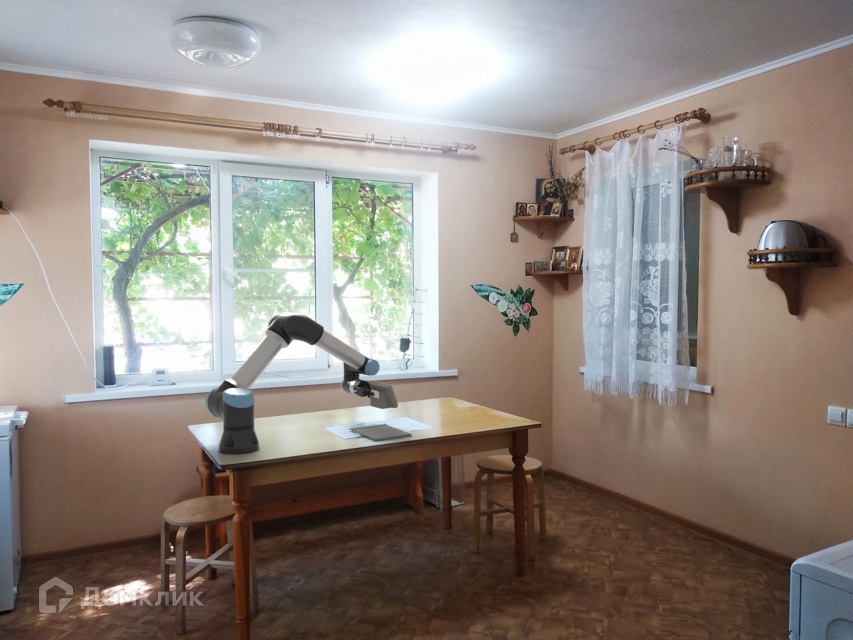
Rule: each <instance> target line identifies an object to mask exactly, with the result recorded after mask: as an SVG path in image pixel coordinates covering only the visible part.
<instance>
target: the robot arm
mask: <svg viewBox="0 0 853 640" xmlns="http://www.w3.org/2000/svg"><path fill="white" fill-rule="evenodd" d="M267 326H268V327H267V328H266V329H265V337H264V338H263V339H261V342H260V343H259V344H258V345H256V348H254V350H253V351H252V353H250V355H249V356H248V357H247V358H246V360H245V361H244V362H243V363H242V364H241V365H240V367H239V368H238V369H237V370H236V371H235V373H234V374H233V375H232V376H231V378H229V379H224V380H223V382H221V384H220V385H219V386H218V387H215V388H213V389H211V390H210V391H209V392H208V393H207V395H206V398H205V408H206V409H207V411H208V412H209V413H210V414H211V415H212V416H213V417H216V418H220V419H222V420H223V421H222V423H223V424H222V425H223V429H222V430H223V431H222V434H221V437H220V440H219V444H218V451H221V452H224V453H223V454H226V453H230V454H229V455H236V454H237V455H238V454H239V453H241V454H246V453H252V452H255V451H257V450H259V449H260V441H259V438H258V435H257V432H256V430H255V402H256V401H255V395H254V392H253V391H252V390H250V389H251V387H252V386H253V385H254V384H255V383H256V381H257V380H258V378H260V376H261V375H262V373H263V372H265V370H266V368H267V367H268V366H269V365H270V364H271V362H272V361H273V360H274V359H275V357H276V356H277V355H278V354H279V353H280V351H281V350H282V349H286V348H288V347H289V346H290V345H291V343H292V342H293V341H300V342H304V343H306V344H308V345H310V346H316V347H318V348H320V349H321V350H322V351H324V352H326V353H328V354H330V355H331V356H333V357H335V358H336V359H338V360H340V361H341V362H343V378H342V379H341V381H340V388H341V390H342V391H343V392H346V393H347V394H352V395H355V396H356V397H361V398H365V397H367V398H368V399H370V398H371V397H375V398H379V392H377V391H374V390H371V388H370V382H369V381H367V380H364V379H361V378H360V375H363V376H369V377H370V376H373V377H374V376H376V375H377V374H378V373H379V371H380V369H381V368H380V363H379V361H378V360H376V359H373V358H369V357H367V355H364V354H362V353H361V352H359V351H358V350H357V349H355V348H353V347H352V346H350V345H349V344H347V343H345V342H344V341H342V340H341V339H339V338H337V337H336V336H334V335H333V334H332V333H330V332H328V331H326V330H325V327H324V326H323V325H321V324H320V323H318V322H317V321H315V320H313V319H312V318H310V317H309V316H307V315H306V314H303V313H299V312H287V311H284V312H279V313H276V314H274V315H273V316H272V317H271V318H270V319H269V321H268V325H267ZM221 452H220V453H221Z"/></svg>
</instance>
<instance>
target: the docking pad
mask: <svg viewBox="0 0 853 640" xmlns="http://www.w3.org/2000/svg"><path fill="white" fill-rule="evenodd" d="M350 430H352V431H354V432H357V433H359V434H361V435H362V436H361V437H363V436H364V437H363V438H366V439H368V440H370V441H372V442H381V441H388V440H394V439H402V438H408V437H412V433H409V432H408V431H405V430H402V429H399V428H396V427H393V426H391V425H388V424H386V423H381V424H379V423H378V424H372V425H371V424H370V425H364V426H357V427H350V428H349V431H350Z"/></svg>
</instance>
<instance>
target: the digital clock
mask: <svg viewBox="0 0 853 640" xmlns="http://www.w3.org/2000/svg"><path fill="white" fill-rule="evenodd" d="M369 383H370V388H371V390H374V391H377V392H379V398H375V397H371V396H370V398H369V399H370V407H373V408H376V409H380V410H385V409H397V408H398V407H399V403H398V400H397V397H396V394H395V391H394V390H395V389H394V387H393V385H392V384H389V383H383V382H379V381H370V382H369Z"/></svg>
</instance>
